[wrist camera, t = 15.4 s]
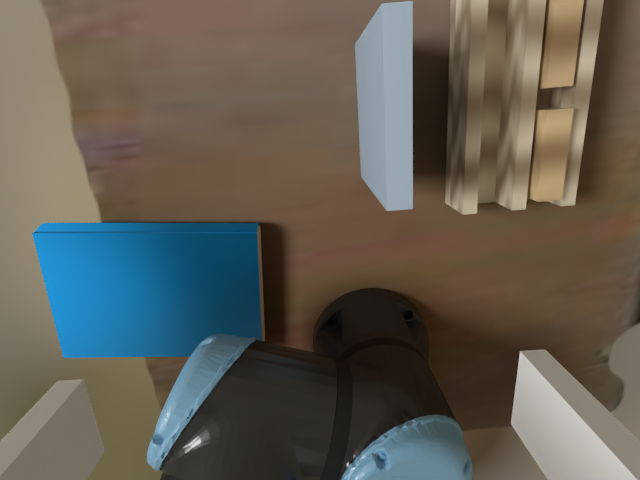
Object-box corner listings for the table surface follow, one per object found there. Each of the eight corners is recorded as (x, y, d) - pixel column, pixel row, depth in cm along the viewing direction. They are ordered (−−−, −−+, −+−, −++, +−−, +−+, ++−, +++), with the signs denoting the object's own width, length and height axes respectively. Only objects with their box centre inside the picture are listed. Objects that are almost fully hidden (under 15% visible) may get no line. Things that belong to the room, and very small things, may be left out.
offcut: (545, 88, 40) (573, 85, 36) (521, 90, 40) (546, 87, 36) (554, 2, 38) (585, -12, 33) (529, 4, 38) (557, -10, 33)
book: (264, 355, 48) (62, 361, 47) (267, 336, 52) (81, 341, 51) (256, 226, 42) (26, 230, 41) (260, 216, 46) (51, 219, 45)
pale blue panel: (378, 175, 44) (412, 208, 29) (361, 176, 44) (387, 211, 29) (373, 42, 40) (412, 0, 25) (355, 44, 40) (382, 3, 25)
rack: (544, 194, 46) (574, 205, 40) (445, 202, 46) (462, 214, 40) (568, -19, 38) (609, -39, 33) (450, -8, 38) (473, -27, 33)
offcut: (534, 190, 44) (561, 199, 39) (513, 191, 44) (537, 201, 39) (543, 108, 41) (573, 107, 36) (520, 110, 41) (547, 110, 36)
